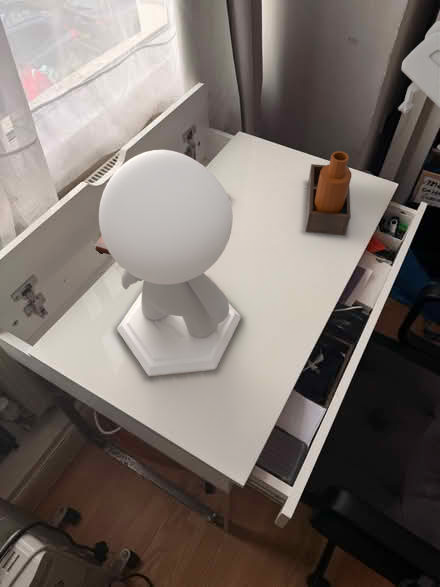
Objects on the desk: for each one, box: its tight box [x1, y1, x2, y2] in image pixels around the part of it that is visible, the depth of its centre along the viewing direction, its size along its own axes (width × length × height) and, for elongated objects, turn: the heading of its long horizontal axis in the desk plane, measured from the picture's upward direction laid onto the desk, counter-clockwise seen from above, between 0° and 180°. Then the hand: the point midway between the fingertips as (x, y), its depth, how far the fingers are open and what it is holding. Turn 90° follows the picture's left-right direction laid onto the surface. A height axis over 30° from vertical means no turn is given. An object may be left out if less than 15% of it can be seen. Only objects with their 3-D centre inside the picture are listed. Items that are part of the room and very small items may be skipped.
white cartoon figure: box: [98, 149, 242, 377], centre depth 67 cm, size 20×23×35 cm
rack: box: [305, 163, 351, 236], centre depth 96 cm, size 8×16×6 cm, turn 171°
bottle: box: [313, 150, 353, 214], centre depth 89 cm, size 6×6×16 cm
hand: (420, 130), depth 75 cm, fingers open, 8 cm apart
